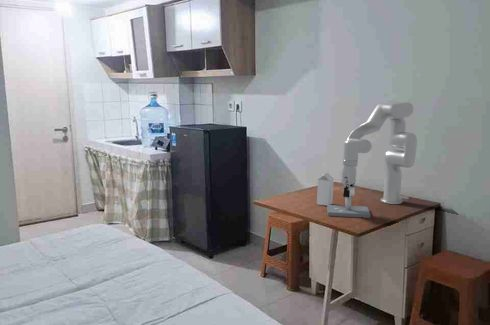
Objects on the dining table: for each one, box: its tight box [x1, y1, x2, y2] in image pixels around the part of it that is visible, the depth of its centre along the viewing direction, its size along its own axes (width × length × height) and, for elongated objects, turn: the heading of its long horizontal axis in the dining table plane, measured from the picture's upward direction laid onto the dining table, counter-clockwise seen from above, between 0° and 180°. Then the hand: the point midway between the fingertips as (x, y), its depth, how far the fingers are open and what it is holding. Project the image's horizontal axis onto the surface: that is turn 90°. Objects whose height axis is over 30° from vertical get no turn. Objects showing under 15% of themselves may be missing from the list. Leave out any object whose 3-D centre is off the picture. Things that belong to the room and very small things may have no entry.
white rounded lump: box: [342, 185, 356, 197], centre depth 232 cm, size 6×6×5 cm
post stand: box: [326, 196, 372, 219], centre depth 233 cm, size 22×15×10 cm
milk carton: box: [316, 171, 334, 207], centre depth 250 cm, size 7×7×19 cm
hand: (348, 195), depth 232 cm, fingers closed on white rounded lump, 6 cm apart
